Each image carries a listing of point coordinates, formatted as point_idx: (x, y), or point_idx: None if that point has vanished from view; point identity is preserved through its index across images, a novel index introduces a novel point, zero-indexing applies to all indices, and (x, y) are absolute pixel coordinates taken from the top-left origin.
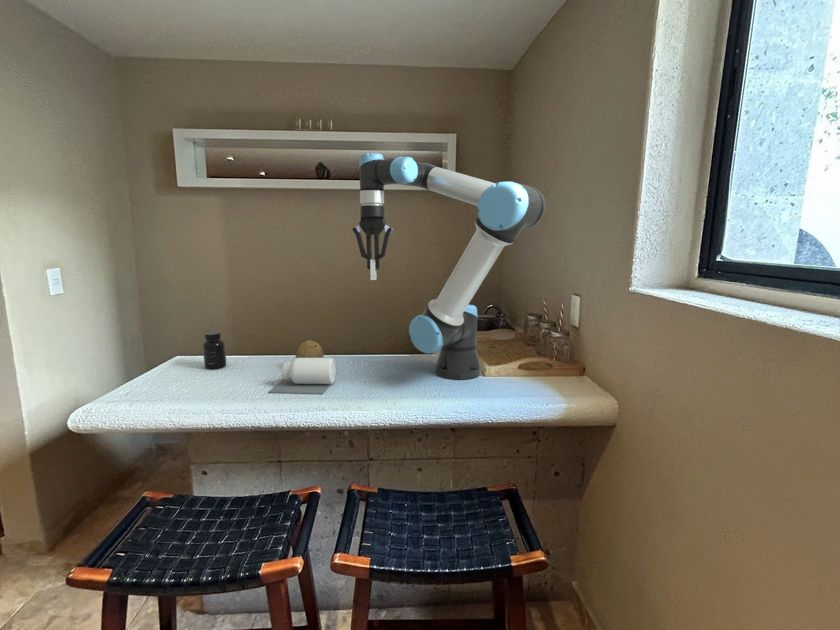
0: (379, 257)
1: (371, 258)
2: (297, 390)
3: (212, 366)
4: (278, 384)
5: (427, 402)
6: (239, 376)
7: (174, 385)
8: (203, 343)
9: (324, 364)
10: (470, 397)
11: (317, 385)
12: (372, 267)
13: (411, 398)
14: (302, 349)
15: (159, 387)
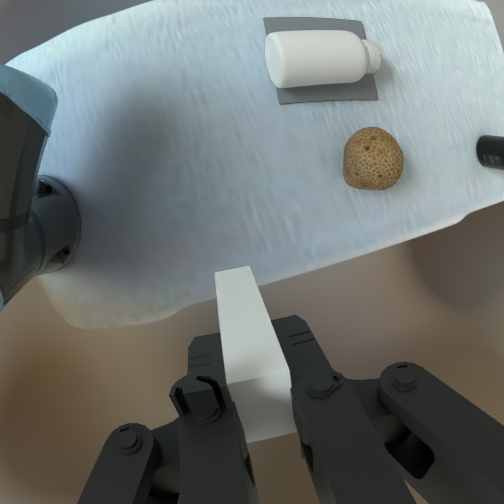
0: (176, 431)
1: (296, 427)
2: (317, 26)
3: (485, 135)
4: None
5: (61, 45)
6: (441, 102)
7: (480, 66)
8: None
9: (288, 33)
10: None
11: None
12: (246, 321)
13: (88, 48)
14: (387, 133)
15: (487, 61)
